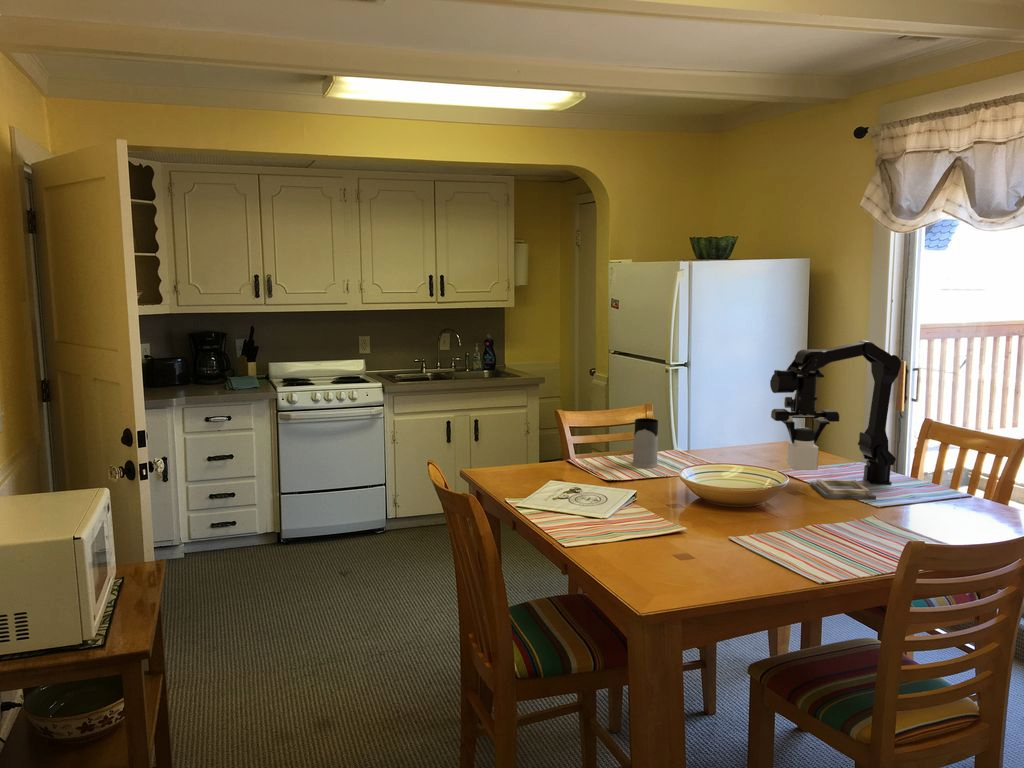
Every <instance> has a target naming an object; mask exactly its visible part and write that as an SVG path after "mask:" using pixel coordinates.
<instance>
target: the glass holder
mask: <svg viewBox="0 0 1024 768" xmlns="http://www.w3.org/2000/svg"><path fill="white" fill-rule="evenodd" d="M658 433H659V420H658V419H655V418H649V417H646V418H645V417H644V418H642V417H639V418H635V420H634V432H633V448H632V449H633V451H632V452H633V454H632V457H633V458H632V462H631V466H632V467H635V468H639V469H655V468H658V467H659V464H658V451H659V450H658V449H659V445H658V444H659V434H658Z"/></svg>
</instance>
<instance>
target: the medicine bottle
mask: <svg viewBox="0 0 1024 768" xmlns="http://www.w3.org/2000/svg"><path fill="white" fill-rule="evenodd" d="M814 434H815V432H814V429H812V428H809V427H796V428H795V437H794V443H792V442H791V441H788V442H787V459H786V461H787V463H786V464H787V465H788V466H789V467H790V468H792V470H794V471H818V468H819V467H818V466H819V454H820V453H819V449H820V447H819V446H817V445H816V444H814Z"/></svg>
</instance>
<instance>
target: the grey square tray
mask: <svg viewBox="0 0 1024 768" xmlns="http://www.w3.org/2000/svg"><path fill="white" fill-rule="evenodd" d="M810 486H811V487H812V488H813V489H815V490H816V491H817V492H818V493H819V494H820V495H821V496H822V497H824V498H825V499H832V500H833V499H834V500H835V499H837V500H839V499H841V500H871V499H877V496H876V495H875V494H874V493H872V492H871V491H870V489H869V488H867V487H866V486H864V485H863V484H861V483H860V481H857V480H856V479H825V478H823V479H816V481H811V482H810Z"/></svg>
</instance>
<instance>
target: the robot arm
mask: <svg viewBox="0 0 1024 768" xmlns="http://www.w3.org/2000/svg"><path fill="white" fill-rule="evenodd" d="M861 356H862V357H863V358H864V359H865V361H867V362H868V363H870V367H871V370H870V371H871V374H872V378H873V380H874V384H873V391H872V398H871V406H870V412H869V418H868V425H867V428H866V429H865V431H864V432H862V431H861V432H859V434H858V435H859V439H858V442H857V445H858V446H859V447H858V448H859V451H860V452H861V453H862V455H863V459H864V460H866V464H865V465H864V468H863V478H862V479H863V480H865V481H866V482H867V483H869V484H873V485H874V484H875V485H876V484H878V485H879V484H880V485H892V484H893V482H892V481H890V479H891V467H892V466H895V465H894V464H895V462H896V460H897V459H896V457H895V456H894V455H893V454H892V452H890V449H889V448H890V447H889V446H890V445H889V438H888V435H887V432H886V427H887V418H888V412H889V407H890V406H889V405H890V400H891V398H890V397H891V393H892V385H893V383H894V382H895V380H896V379H897V378H898V377H899V374H900V370H901V367H902V360H901V359H900V358H899V356H897V355H895V354H892V353H889V352H887V351H885V350H884V349H882V348H881V347H879V346H877V344H875V343H874V342H871V341H869V340H868V341H867V340H859V341H858V342H857V341H856V342H853V343H848V344H843V345H839V346H838V345H837V346H834V347H829V348H825V349H815V348H813V349H809V348H808V349H801V350H799V351H797V353H796V354H795V356H794V359H793V360H792V362H791V364H789V366H788V367H787V369H786V370H780V369H775V370H774V371H773V375H772V376H771V379H770V380H769V381H770V382H769V385H770V386H769V387H770V389H771V392H772V393H773V394H786V393H787V394H788V393H789V394H790V393H795V394H794V399H793V397H792V396H786V397H784V402H783V403H784V408H773V409H772V410H771V414H770V417H771V419H772V420H774V421H776V422H782V423H783V424H784V425H785V426H786V429H787V432H788V435H789V438H790V442H792V443H794V437H795V429H796V428H795V426H796V423H795V422H794V420H793V419H813V420H814V429H813V430H814V432H815V434H814V443H813V444H814V445H816V443H817V441H818V440H819V438H820V436H821V434H822V432H823V431H824V429H825V427H826V426H827V425H830V424H831V423H830V422H832V423H835V422H838V423H839V422H840V413H839V412H838V411H836V410H835V409H832V408H830V409H827V408H826V409H825V408H822V409H821V410H820V411H817V410H816V407H817V405H816V403H817V400H818V397H817V388H818V384H817V382H818V378H819V379H820V378H825V374H823V373H822V372H821V371H820V369H821V368H824V367H826V366H827V365H829V364H831V363H834V362H835V363H836V362H839V361H843V360H849V359H852V358H858V357H861ZM788 409H790V411H789V410H788Z"/></svg>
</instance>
